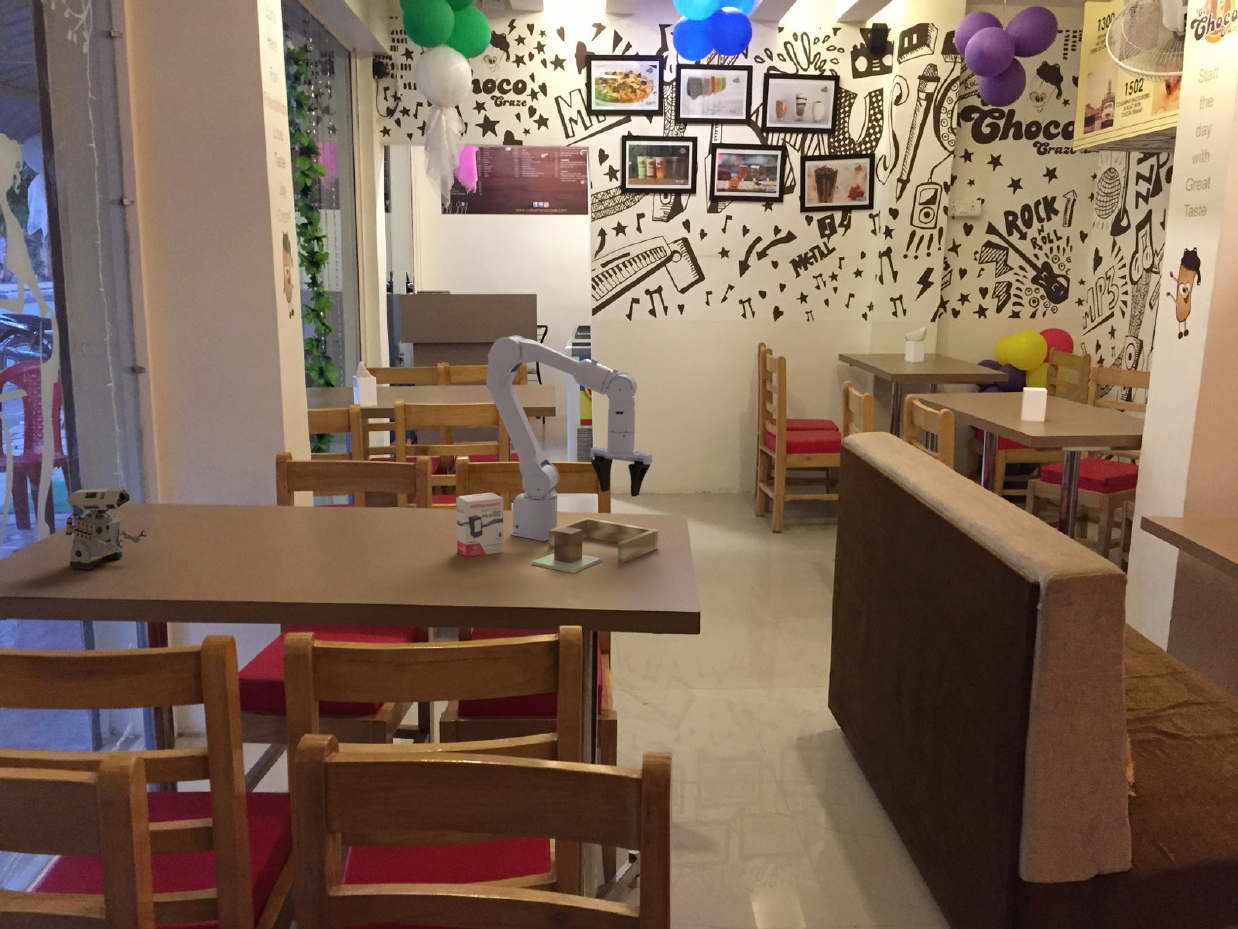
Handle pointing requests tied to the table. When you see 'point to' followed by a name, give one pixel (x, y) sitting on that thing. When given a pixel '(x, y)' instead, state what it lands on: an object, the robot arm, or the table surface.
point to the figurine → (97, 526)
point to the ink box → (479, 524)
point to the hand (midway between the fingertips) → (619, 493)
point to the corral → (615, 536)
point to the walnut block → (568, 545)
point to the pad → (567, 567)
